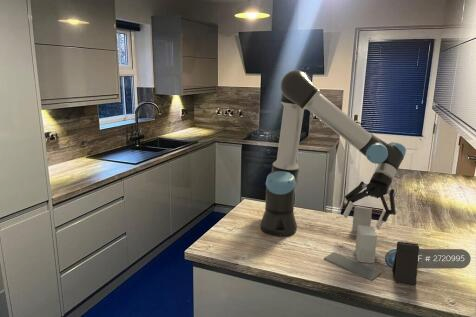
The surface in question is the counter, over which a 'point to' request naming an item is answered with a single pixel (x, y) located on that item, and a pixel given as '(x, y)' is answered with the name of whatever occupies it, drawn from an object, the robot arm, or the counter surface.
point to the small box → (365, 244)
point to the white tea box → (361, 217)
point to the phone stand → (406, 263)
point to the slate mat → (353, 266)
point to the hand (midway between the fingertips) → (360, 222)
